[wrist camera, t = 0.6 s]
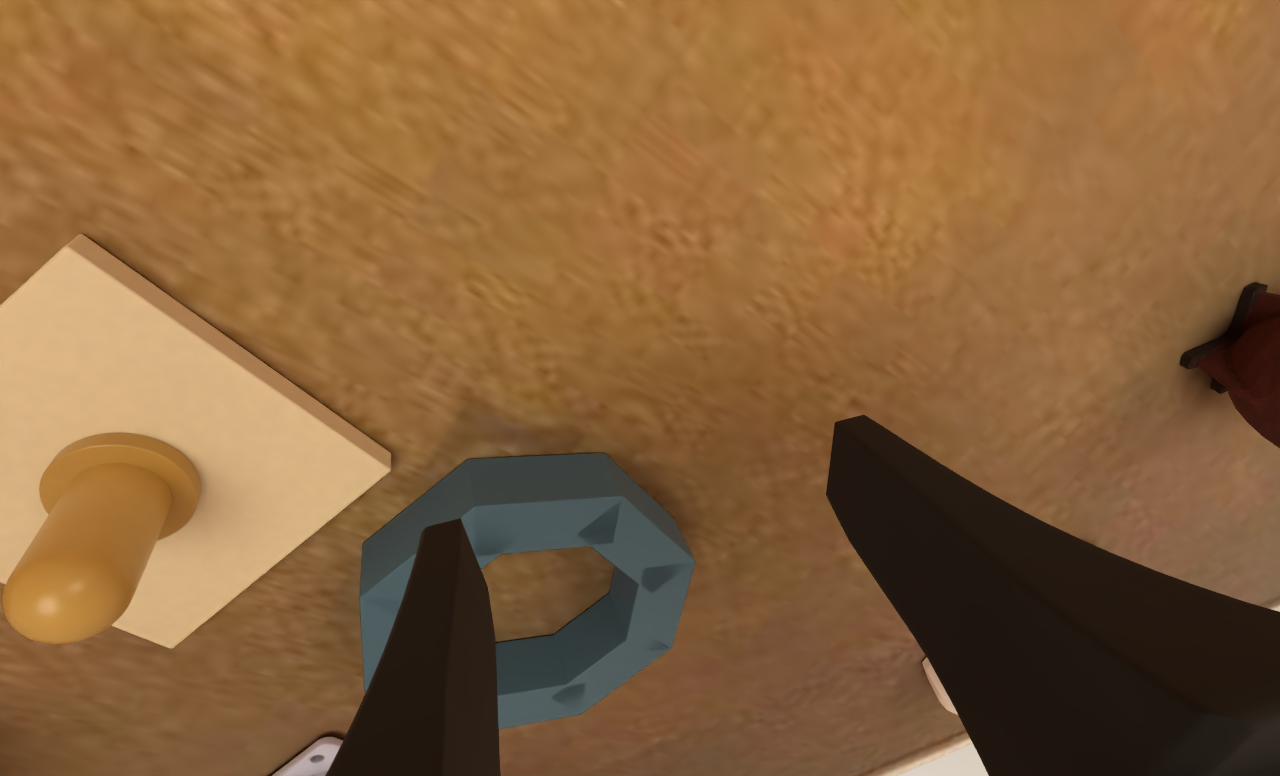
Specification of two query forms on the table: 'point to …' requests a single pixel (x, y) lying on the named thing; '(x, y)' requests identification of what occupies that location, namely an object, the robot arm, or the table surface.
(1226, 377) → the mate gourd
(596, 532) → the ring
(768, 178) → the table surface
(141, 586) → the peg stand
